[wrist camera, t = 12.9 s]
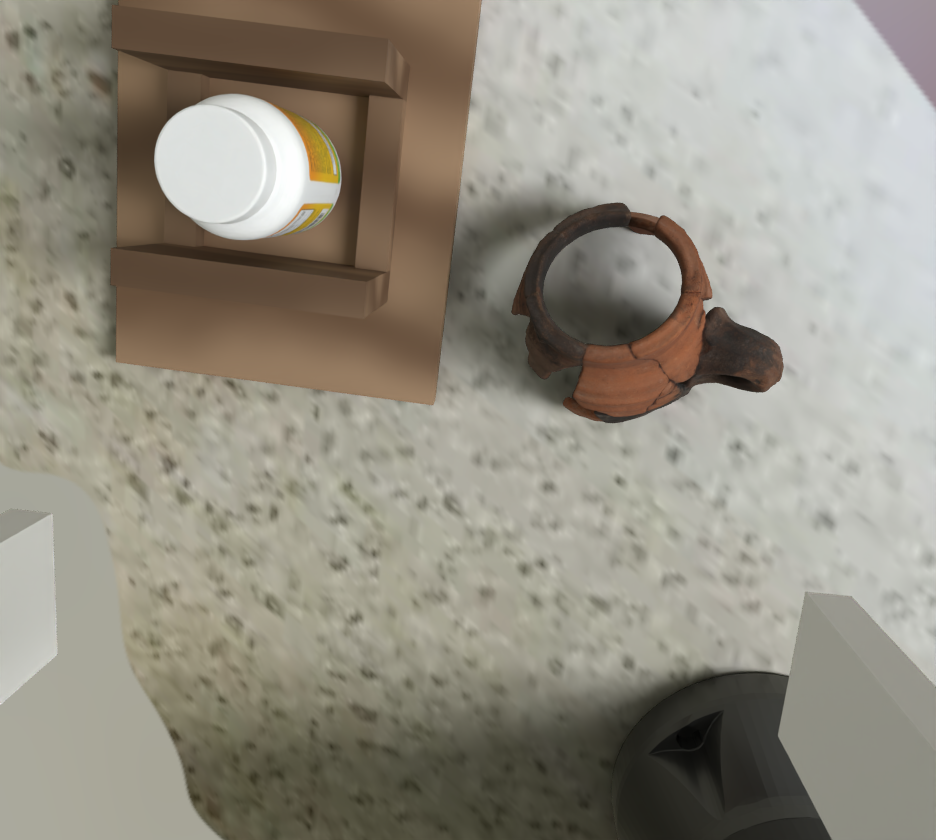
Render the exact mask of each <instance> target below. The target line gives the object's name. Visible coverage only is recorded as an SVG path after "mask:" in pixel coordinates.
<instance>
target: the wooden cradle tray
mask: <svg viewBox="0 0 936 840" xmlns="http://www.w3.org/2000/svg"><path fill="white" fill-rule="evenodd" d="M481 2H482V0H118V5H112V48H113V49H116V50H118V133H117V247H116V248H111V285H113V286H116V362H119V363H127V364H134V365H141V366H149V367H156V368H163V369H171V370H178V371H185V372H193V373H200V374H208V375H215V376H222V377H230V378H237V379H244V380H252V381H259V382H266V383H274V384H281V385H288V386H296V387H303V388H310V389H318V390H325V391H332V392H340V393H347V394H354V395H362V396H369V397H376V398H384V399H391V400H398V401H406V402H413V403H420V404H428V405H433V404H434V402H435V398H436V389H437V380H438V372H439V363H440V355H441V346H442V337H443V329H444V320H445V312H446V303H447V294H448V286H449V277H450V269H451V260H452V251H453V243H454V234H455V226H456V217H457V208H458V200H459V191H460V183H461V174H462V166H463V157H464V148H465V140H466V131H467V123H468V114H469V105H470V97H471V88H472V80H473V71H474V62H475V54H476V45H477V37H478V28H479V19H480V11H481ZM222 94H243V95H248V96H253V97H256V98H259V99H262V100H265V101H267V102H270V103H272V104H275V105H277V106H279V107H281V108H283V109H286V110H288V111H291V112H293V113H296V114H298V115H300V116H302V117H304V118H306V119H308V120H310V121H311V122H313V123H314V124H315V125H317V126H318V127H319V128H320V129H321V130H322V131H323V132H324V133H325V134H326V135H327V136H328V138H329V139H330V141H331V142H332V144H333V146H334V147H335V150H336V152H337V155H338V158H339V162H340V166H341V188H340V193H339V196H338V199H337V201H336V204H335V206H334V207H333V209H332V210H331V212H330V213H329V214H328V216H327V217H326V218H325V219H324V220H323V221H322V222H320V223H319V224H318V225H316V226H315V227H313V228H311V229H309V230H307V231H304V232H301V233H297V234H292V235H285V236H278V237H270V238H262V239H255V240H234V239H228V238H223V237H220V236H218V235H215V234H213V233H211V232H209V231H207V230H205V229H203V228H202V227H200V226H199V225H198V224H196V223H195V222H194V221H193V220H192V219H191V218H190V217H188V216H187V215H185V214H183V213H182V212H180V211H179V210H178V209H177V208H176V207H175V206H174V205H173V204H172V203H171V202H170V201H169V200H168V198H167V197H166V196H165V194H164V192H163V191H162V189H161V187H160V184H159V182H158V179H157V176H156V171H155V164H154V155H155V147H156V142H157V140H158V137H159V134H160V132H161V130H162V129H163V127H164V126H165V124H166V123H167V122H168V121H169V120H170V119H171V118H172V117H173V116H174V115H175V114H177V113H178V112H179V111H181V110H183V109H185V108H187V107H190V106H194V105H196V104H198V103H199V102H201V101H203V100H205V99H207V98H209V97H213V96H217V95H222Z"/></svg>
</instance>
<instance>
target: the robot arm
mask: <svg viewBox="0 0 936 840" xmlns="http://www.w3.org/2000/svg"><path fill="white" fill-rule="evenodd" d="M53 542H54V540H53V513H46V512H36V511H28V510H18V509H9V510H7V511H5V512H3V513H2V514H0V705H1V704H2V703H3V702H4V701H5V700H7V699H8V698H9V697H10V696H11V695H12V694H13V693H14V692H16V691H17V690H18V689H19V688H20V687H21V686H22V685H23V684H25V683H26V682H27V681H28V680H29V679H30V678H31V677H32V676H34V675H35V674H36V673H37V672H38V671H39V670H40V669H41V668H43V667H44V666H45V665H46V664H47V663H48V662H49V661H50V660H52V659H53V658H54V657H55V656H56V655H57V629H56V628H57V627H56V599H55V571H54V570H55V569H54V543H53ZM611 798H612V807H613V813H614V819H615V826H616V831H617V836H618V840H936V687H935V685H934V684H933V683H932V682H931V681H930V680H929V679H928V678H927V677H926V676H925V675H924V674H923V673H922V672H921V670H920V669H919V668H918V667H917V666H916V665H915V664H914V663H913V662H912V661H911V660H910V659H909V658H908V657H907V655H906V654H905V653H904V652H903V651H902V650H901V649H900V648H899V647H898V646H897V645H896V644H895V643H894V641H893V640H892V639H891V638H890V637H889V636H888V635H887V634H886V633H885V632H884V631H883V630H882V629H881V628H880V626H879V625H878V624H877V623H876V622H875V621H874V620H873V619H872V618H871V617H870V616H869V615H868V614H867V613H866V611H865V610H864V609H863V608H862V607H861V606H860V605H859V604H858V603H857V602H856V601H855V600H854V599H853V598H852V596H842V595H833V594H823V593H813V592H805V597H804V602H803V607H802V613H801V618H800V623H799V628H798V633H797V639H796V644H795V649H794V654H793V659H792V665H791V670H790V675H789V677H786V676H781V675H774V674H763V673H744V674H733V675H727V676H721V677H717V678H712V679H709V680H705V681H702V682H699V683H696V684H694V685H691V686H689V687H687V688H684V689H682V690H680V691H678V692H677V693H675V694H673V695H671V696H670V697H668V698H666V699H665V700H663V701H662V702H661V703H659V704H658V705H657V706H655V707H654V708H653V709H652V710H650V711H649V712H648V713H647V714H646V715H645V716H644V717H643V718H642V719H641V720H640V721H639V723H638V724H637V725H636V726H635V727H634V729H633V730H632V731H631V733H630V734H629V736H628V737H627V739H626V741H625V742H624V744H623V746H622V748H621V750H620V752H619V755H618V757H617V760H616V763H615V767H614V771H613V777H612V786H611Z"/></svg>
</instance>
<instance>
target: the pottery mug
mask: <svg viewBox="0 0 936 840" xmlns="http://www.w3.org/2000/svg"><path fill="white" fill-rule="evenodd" d="M625 226H628V227H629V228H631V230H633V231H634V232H636V233H639V234H647V235H655V236H656V237H657V238H658V239H659V240H661V241H662V242H663V243H665V244H666V245H667V246H668V247H669V248H670V250H671V251H672V252H673V254H674V255H675V257H676V259H677V261H678V263H679V266H680V269H681V275H682V286H681V296H680V298H679V301H678V304H677V306H676V307H675V309H674V311H673V312H672V314H671V315H670V316H669V318H668V319H667V320H666V321H665V322H664V323H663V324H662V325H661V326H660V327H659V328H657V329H656V330H655V331H653V332H652V333H650V334H648V335H647V336H645V337H643V338H641V339H639V340H636V341H633V342H630V343H628V344H620V345H614V346H602V345H594V344H584V343H582V342H580V341H578V340H576V339H574V338H572V337H570V336H569V335H567V334H566V333H565V332H563V331H562V330H561V329H560V328H559V327H558V326H557V325H556V324H555V323H554V321H553V320H552V319H551V317H550V315H549V313H548V311H547V309H546V306H545V303H544V301H543V286H544V280H545V276H546V273H547V271H548V269H549V267H550V265H551V263H552V261H553V260H554V258H555V257H556V256H557V255H558V253H559V252H560V251H561V250H562V249H563V248H564V247H565V246H567V245H568V244H570V243H571V242H573V241H574V240H576V239H577V238H579V237H581V236H583V235H584V234H587V233H589V232H592V231H594V230H598V229H603V228H609V227H625ZM711 298H712V289H711V286H710V282H709V279H708V276H707V274H706V272H705V269H704V266H703V263H702V262H701V260H700V258H699V255H698V251H697V249H696V247H695V245H694V244H693V242H692V240H691V239H690V237H689V236H688V235H687V233H686V232H685V230H684V229H683V228H681V227H680V226H679V225H678V224H676V223H675V222H674V221H672V220H671V219H670V218H668V217H666V216H664V215H663V216H661V217H660V218H658V217H654V216H651V215H647V214H642V213H635V212H630V210H629V209H628V207H627V206H626V205H625V204H623V203H611V204H603V205H598V206H596V207H593V208H588V209H584V210H582V211H579V212H577V213H575V214H573V215H571V216H569V217H567V218H566V219H565V220H563V221H562V222H561V223H559V224H558V225H557V226H556V227H555V228H554V230H553V231H552V232H549V233H548V234H547V235H546V236H545V237H544V238H543V239H542V240H541V241H540V242H539V244H538V246H537V248H536V250H535V251H534V253H533V255H532V256H531V258H530V260H529V262H528V265H527V267H526V270H525V272H524V274H523V277H522V280H521V282H520V285H519V287H518V290H517V293H516V296H515V298H514V302H513V306H512V311H511V313H512V314H513V315H518V314H520V315H525V316H528V317H530V322H529V325H528V327H527V329H526V338H525V342H526V346H527V349H528V351H529V355H528V363H529V365H530V367H531V368H532V369H533V370H534V371H535V372H536V374H537V375H538V376H539V377H540V378H542V379H547V378H548V377H549V376H550V374H551V373H552V372H556V371H560V370H562V369H565V368H569V367H574V366H582V370H581V372H580V375H579V380H578V383H577V386H576V388H575V390H574V392H573V398H574V399H573V398H570V397H567V398H565V400H564V402H563V405H564V406H565V407H566V408H567V409H569V410H570V411H572V412H573V413H575V414H577V415H579V416H582V417H586V418H589V419H591V420H594V421H603V422H606V423H618V422H624V421H627V420H631V419H635V418H638V417H641V416H644V415H646V414H648V413H650V412H652V411H654V410H656V409H659V408H662V407H664V406H667V405H669V404H671V403H672V402H674V401H676V400H678V399H679V398H681V397H683V396H685V395H687V394H688V393H689V391H690V390H691V388H692V387H693V386H695V385H698V384H703V383H720V384H723V385H727V386H731V387H734V388H737V389H741V390H745V391H751V392H765V391H767V390H768V389H769V388H770V387H772V386H773V385H775V384H776V383H777V382H779V381H780V379H781V377H782V372H783V367H784V366H783V362H782V361H783V358H782V354H781V350H780V347H779V346H778V344H777V343H776V342H775V341H774V340H772V339H771V338H769V337H768V336H765V335H763V334H761V333H759V332H758V331H756V330H753V329H751V328H748V327H745V326H741V325H739V324H737V323H735V322H734V321H733V320H731V319H730V318H729V316H728V315H727V313H726V311H725V310H724V309H723V308H721V307H714V308H713V309H711V310H710V311H709V312H708V313H707V314H706V316H705V311H704V309H703V301H704V300H709V299H711Z"/></svg>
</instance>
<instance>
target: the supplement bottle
mask: <svg viewBox="0 0 936 840" xmlns="http://www.w3.org/2000/svg"><path fill="white" fill-rule="evenodd" d="M154 164H155V171H156V176H157V179H158V182H159V184H160V187H161V189H162V191H163V192H164V194H165V196H166V197H167V198H168V200H169V201H170V202H171V203H172V204H173V205H174V206H175V207H176V208H177V209H178V210H179V211H180V212H182V213H183V214H185V215H187V216H188V217H190V218H191V219H192V220H193V221H194V222H195V223H196V224H198V225H199V226H200V227H202V228H203V229H205V230H207V231H209V232H211V233H213V234H215V235H218V236H220V237H223V238H228V239H234V240H255V239H262V238H270V237H278V236H285V235H292V234H297V233H301V232H304V231H307V230H309V229H311V228H313V227H315V226H316V225H318V224H319V223H320V222H322V221H323V220H324V219H325V218H326V217H327V216H328V214H329V213H330V212H331V210H332V209H333V207H334V206H335V204H336V201H337V199H338V196H339V193H340V188H341V166H340V162H339V158H338V155H337V152H336V150H335V147H334V146H333V144H332V142H331V141H330V139H329V138H328V136H327V135H326V134H325V133H324V132H323V131H322V130H321V129H320V128H319V127H318V126H317V125H315V124H314V123H313V122H311V121H310V120H308V119H306V118H304V117H302V116H300V115H298V114H296V113H293V112H291V111H288V110H286V109H283V108H281V107H279V106H277V105H275V104H272V103H270V102H267V101H265V100H262V99H259V98H256V97H253V96H248V95H243V94H222V95H217V96H213V97H209V98H207V99H205V100H203V101H201V102H199V103H198V104H196V105H194V106H190V107H187V108H185V109H183V110H181V111H179V112H178V113H177V114H175V115H174V116H173V117H172V118H171V119H170V120H169V121H168V122H167V123H166V124H165V126H164V127H163V129H162V130H161V132H160V134H159V137H158V140H157V142H156V147H155V155H154Z"/></svg>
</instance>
